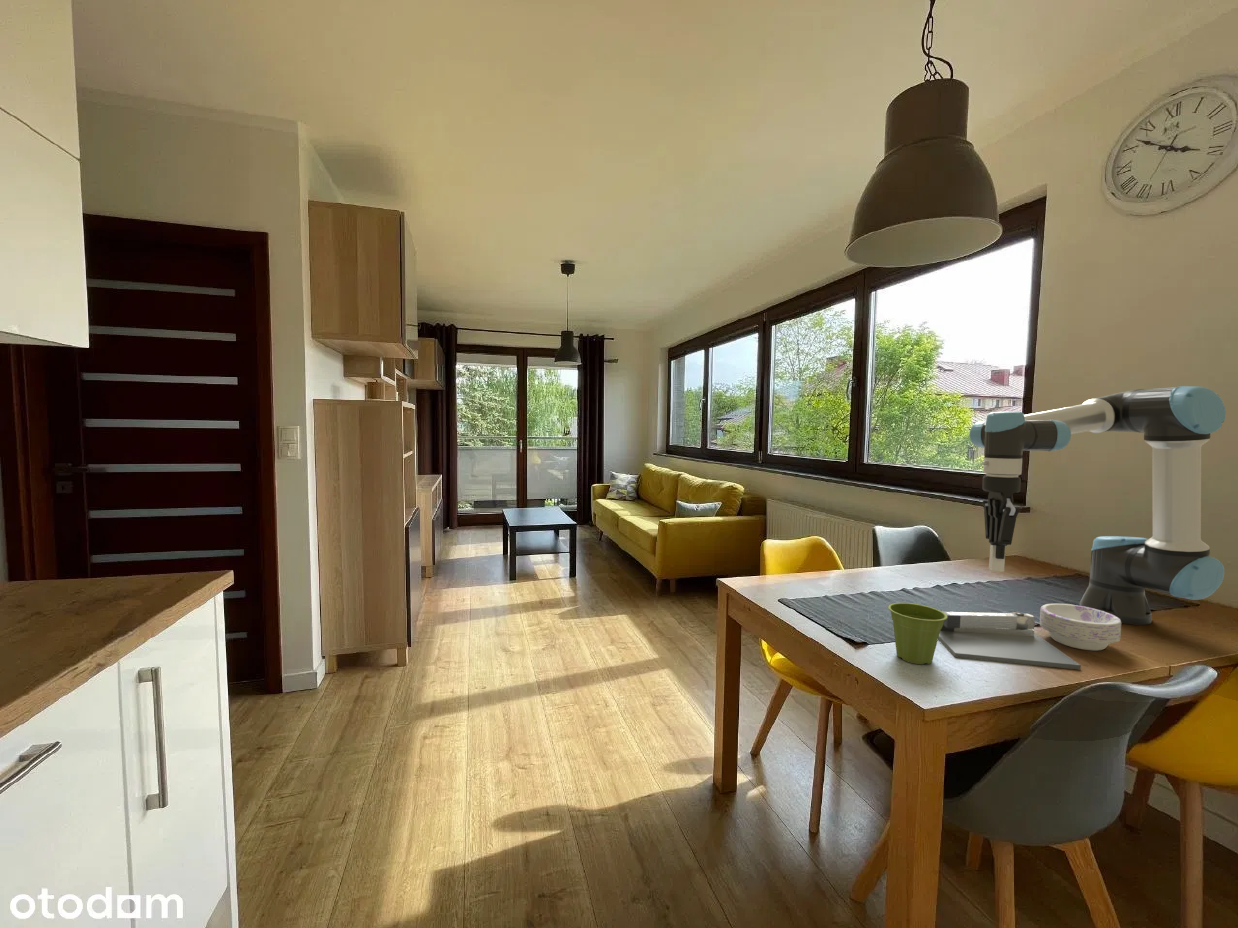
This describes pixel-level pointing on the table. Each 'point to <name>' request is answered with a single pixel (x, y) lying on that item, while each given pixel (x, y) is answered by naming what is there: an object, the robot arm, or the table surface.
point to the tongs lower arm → (992, 631)
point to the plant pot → (916, 631)
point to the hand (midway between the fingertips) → (996, 570)
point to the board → (1005, 649)
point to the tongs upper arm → (989, 620)
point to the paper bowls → (1080, 626)
